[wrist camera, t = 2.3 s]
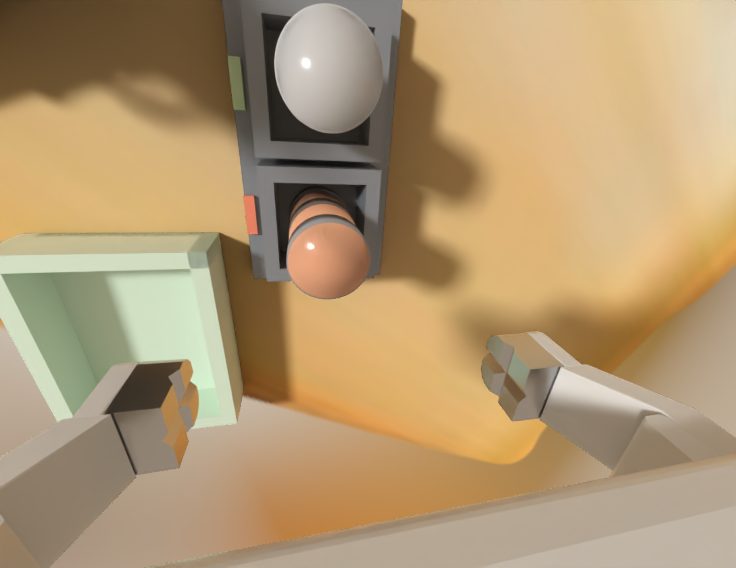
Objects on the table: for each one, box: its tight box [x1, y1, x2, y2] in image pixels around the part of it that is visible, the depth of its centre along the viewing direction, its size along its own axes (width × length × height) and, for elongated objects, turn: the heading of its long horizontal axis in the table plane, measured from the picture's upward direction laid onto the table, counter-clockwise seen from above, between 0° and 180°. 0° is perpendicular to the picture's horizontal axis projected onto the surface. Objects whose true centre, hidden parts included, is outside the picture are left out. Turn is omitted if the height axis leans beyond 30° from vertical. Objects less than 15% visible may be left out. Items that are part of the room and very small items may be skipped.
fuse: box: [274, 3, 383, 133], centre depth 14 cm, size 4×4×8 cm
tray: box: [0, 233, 244, 429], centre depth 22 cm, size 14×11×4 cm
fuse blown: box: [286, 186, 371, 299], centre depth 17 cm, size 4×4×8 cm
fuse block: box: [222, 0, 402, 282], centre depth 18 cm, size 16×9×4 cm, turn 177°
